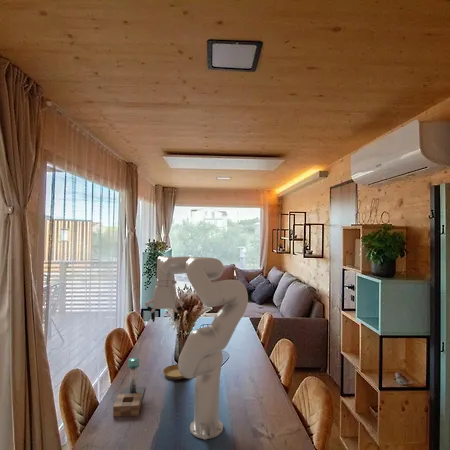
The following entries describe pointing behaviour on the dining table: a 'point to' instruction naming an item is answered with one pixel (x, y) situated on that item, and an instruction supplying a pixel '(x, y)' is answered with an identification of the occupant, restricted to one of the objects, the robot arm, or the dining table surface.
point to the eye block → (127, 404)
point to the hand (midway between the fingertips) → (164, 320)
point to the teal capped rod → (133, 373)
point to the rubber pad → (138, 390)
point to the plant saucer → (173, 372)
